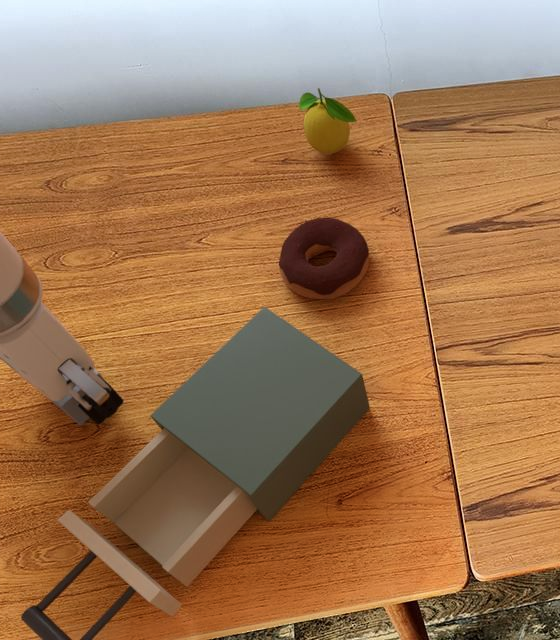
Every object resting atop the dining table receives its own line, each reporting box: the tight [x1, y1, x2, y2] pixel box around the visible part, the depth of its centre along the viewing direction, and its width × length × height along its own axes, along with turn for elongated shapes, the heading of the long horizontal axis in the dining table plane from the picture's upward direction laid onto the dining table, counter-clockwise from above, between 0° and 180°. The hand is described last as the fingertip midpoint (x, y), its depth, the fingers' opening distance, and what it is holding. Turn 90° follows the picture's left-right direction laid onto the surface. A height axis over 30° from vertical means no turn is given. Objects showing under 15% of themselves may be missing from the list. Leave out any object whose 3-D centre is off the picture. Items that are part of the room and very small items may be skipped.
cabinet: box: [150, 306, 371, 522], centre depth 73 cm, size 15×13×8 cm
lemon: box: [297, 87, 358, 155], centre depth 92 cm, size 7×6×10 cm
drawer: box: [20, 428, 257, 640], centre depth 66 cm, size 21×11×6 cm, turn 144°
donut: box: [278, 216, 370, 300], centre depth 85 cm, size 10×10×4 cm
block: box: [47, 365, 106, 426], centre depth 76 cm, size 4×4×4 cm
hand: (77, 385), depth 76 cm, fingers open, 9 cm apart
